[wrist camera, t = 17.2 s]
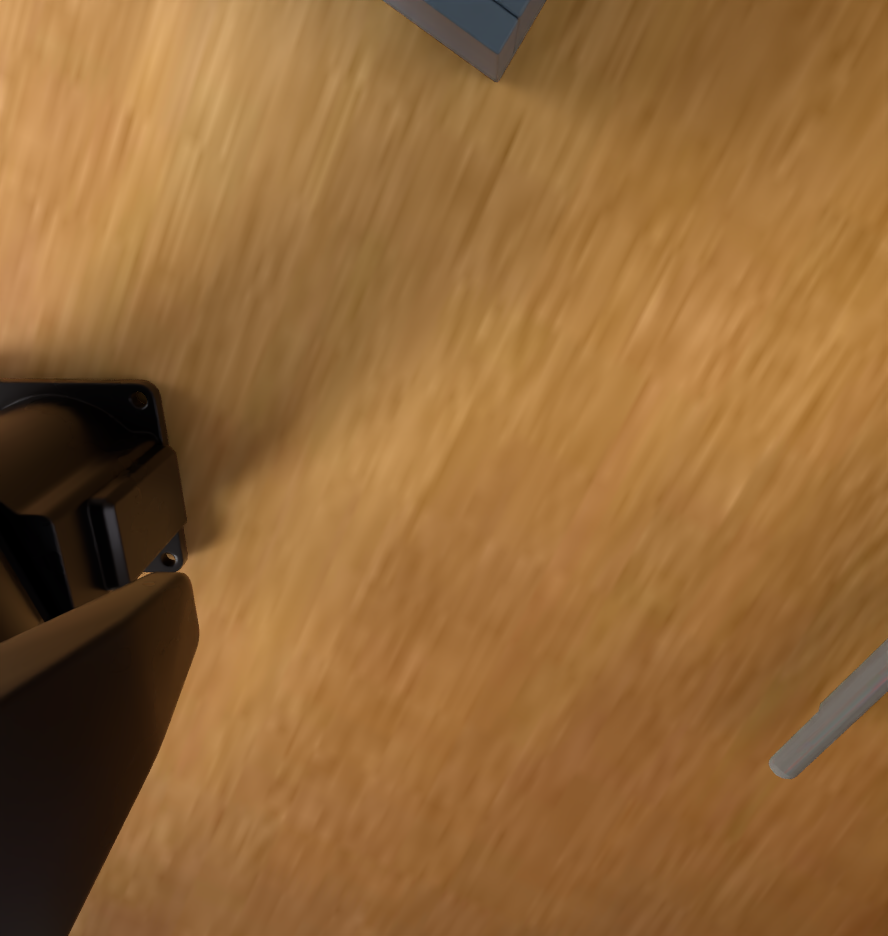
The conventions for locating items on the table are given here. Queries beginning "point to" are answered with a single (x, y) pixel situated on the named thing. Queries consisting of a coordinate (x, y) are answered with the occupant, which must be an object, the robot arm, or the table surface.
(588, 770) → the table surface
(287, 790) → the table surface
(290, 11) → the table surface
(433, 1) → the tote
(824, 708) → the walkie-talkie
